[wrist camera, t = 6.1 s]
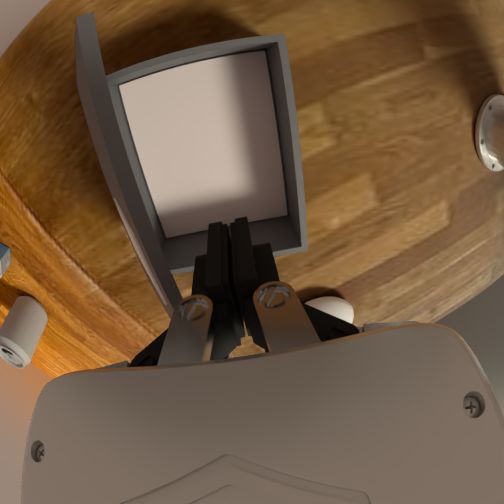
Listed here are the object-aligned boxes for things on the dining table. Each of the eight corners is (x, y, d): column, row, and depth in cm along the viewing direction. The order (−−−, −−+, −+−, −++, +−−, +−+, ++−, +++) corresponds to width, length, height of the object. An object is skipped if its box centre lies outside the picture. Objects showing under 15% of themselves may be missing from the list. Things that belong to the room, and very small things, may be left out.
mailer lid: (93, 11, 4) (72, 18, 4) (237, 405, 16) (229, 410, 16) (82, 83, 16) (75, 86, 16) (153, 279, 28) (148, 282, 28)
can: (35, 291, 37) (7, 345, 27) (56, 320, 41) (35, 373, 31) (11, 293, 37) (-15, 342, 27) (31, 321, 41) (10, 369, 31)
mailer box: (270, 43, 21) (284, 33, 16) (293, 216, 33) (307, 250, 28) (113, 81, 22) (83, 85, 16) (163, 240, 34) (153, 277, 28)
